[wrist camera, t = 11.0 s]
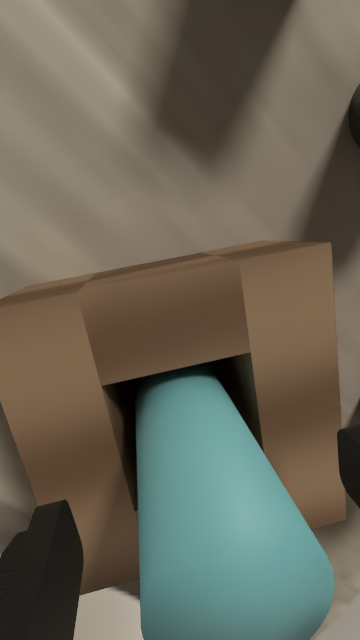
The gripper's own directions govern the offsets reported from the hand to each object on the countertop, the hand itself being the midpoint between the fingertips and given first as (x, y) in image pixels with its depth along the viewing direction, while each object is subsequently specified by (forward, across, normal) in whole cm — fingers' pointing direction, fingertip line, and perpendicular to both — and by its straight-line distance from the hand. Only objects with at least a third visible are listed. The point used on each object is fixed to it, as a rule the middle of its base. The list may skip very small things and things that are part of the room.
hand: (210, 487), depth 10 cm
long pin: (+9, 0, 0) cm, 9 cm away
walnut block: (+9, 0, 0) cm, 9 cm away
